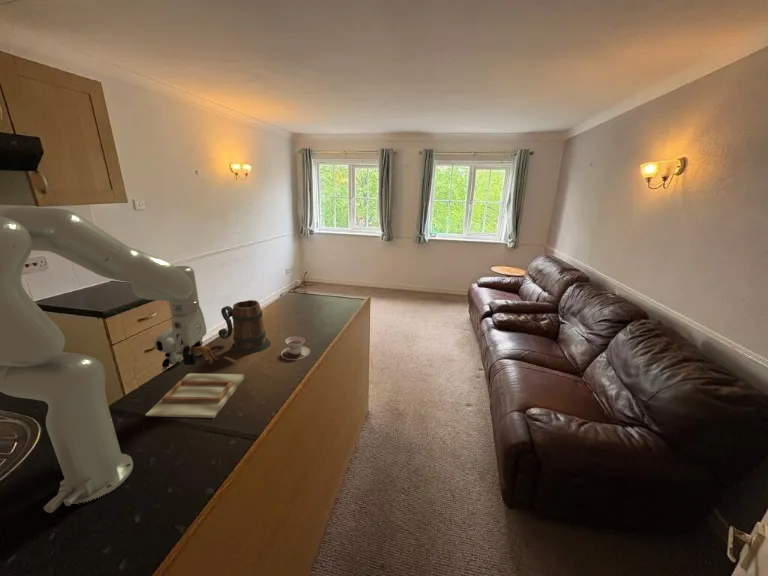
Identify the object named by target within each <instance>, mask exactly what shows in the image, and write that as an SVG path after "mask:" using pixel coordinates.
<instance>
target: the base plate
mask: <svg viewBox="0 0 768 576" xmlns="http://www.w3.org/2000/svg"><path fill="white" fill-rule="evenodd" d="M244 379H245V373H187V374H186V375H185V376H184V377H183V378H181V380H179V381H178V382H177V383H176V384H175V385H174V386H173V387H172V388H171V389H170V390H169V391H167V393H165V394H164V395H163V396H162V397H161V399H160V400H159V401H158V402H157V403H155V405H154V406H153V407H151V409H150V410H148V412H147V413H145V417H166V418H167V417H170V418H171V417H173V418H175V417H176V418H202V419H203V418H207V419H210V418H211V419H214V418H215V417H216V416H217V415H218V413H219V412H220V411H221V409H222V408H223V407H224V405H226V403H227V402H228V401H229V399H230V398H231V397H232V395H233V394H234V393H235V391H236V390H237V389H238V387H239V386H240V385H241V383H242V382H243V380H244Z"/></svg>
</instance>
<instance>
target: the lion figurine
mask: <svg viewBox="0 0 768 576" xmlns="http://www.w3.org/2000/svg"><path fill="white" fill-rule="evenodd" d="M185 348H186V349H188V347H185ZM175 349H176V345H175ZM175 353H176V354H180V355H182V356H183V354H181V353H180V352H175ZM192 353H194V356H198V355H201V354H202V355H203V357H204V360H205V361H208V360H209V361H208V363H209V364H212V363H213V359H215V360H219V357H215V356H214V353H213V351H212V349H211V348H210V347H209V346H206V345H202V346H199V347H195V346H192ZM210 355H211V356H212V357H211V356H210Z"/></svg>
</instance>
